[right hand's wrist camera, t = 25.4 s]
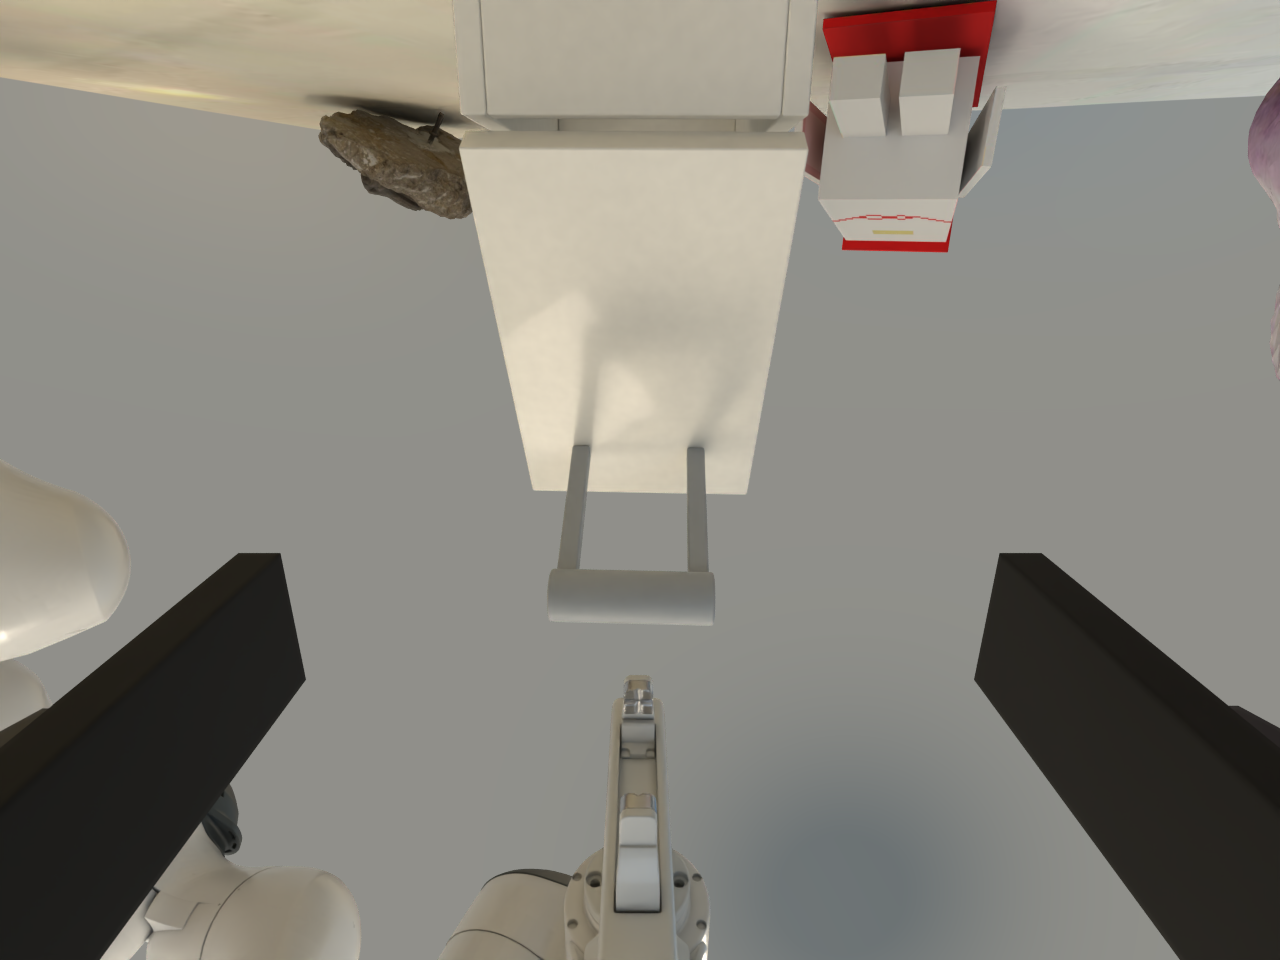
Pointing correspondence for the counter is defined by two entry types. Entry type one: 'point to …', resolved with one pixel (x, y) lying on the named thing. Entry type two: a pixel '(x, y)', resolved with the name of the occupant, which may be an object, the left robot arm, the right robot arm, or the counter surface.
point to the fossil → (401, 161)
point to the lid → (636, 326)
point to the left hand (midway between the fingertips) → (638, 735)
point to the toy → (903, 124)
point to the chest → (635, 64)
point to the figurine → (1268, 179)
